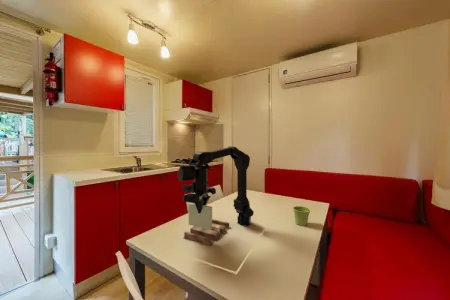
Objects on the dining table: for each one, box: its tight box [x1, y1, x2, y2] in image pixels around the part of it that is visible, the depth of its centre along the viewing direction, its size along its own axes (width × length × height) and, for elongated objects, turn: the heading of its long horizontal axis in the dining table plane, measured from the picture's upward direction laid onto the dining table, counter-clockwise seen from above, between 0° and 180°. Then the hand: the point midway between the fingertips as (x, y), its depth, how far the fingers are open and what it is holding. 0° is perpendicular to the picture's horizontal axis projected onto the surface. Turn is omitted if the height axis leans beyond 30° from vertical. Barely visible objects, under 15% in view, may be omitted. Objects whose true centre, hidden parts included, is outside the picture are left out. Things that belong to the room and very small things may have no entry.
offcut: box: [211, 224, 220, 234], centre depth 92 cm, size 5×2×4 cm, turn 64°
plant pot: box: [292, 205, 312, 227], centre depth 107 cm, size 9×9×9 cm
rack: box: [182, 218, 231, 247], centre depth 93 cm, size 15×21×3 cm
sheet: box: [188, 202, 213, 230], centre depth 87 cm, size 12×2×10 cm, turn 63°
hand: (200, 212), depth 87 cm, fingers closed on sheet, 2 cm apart
